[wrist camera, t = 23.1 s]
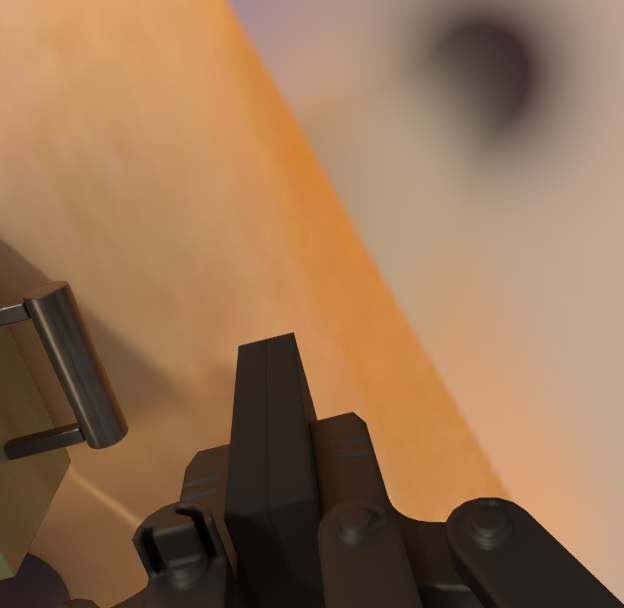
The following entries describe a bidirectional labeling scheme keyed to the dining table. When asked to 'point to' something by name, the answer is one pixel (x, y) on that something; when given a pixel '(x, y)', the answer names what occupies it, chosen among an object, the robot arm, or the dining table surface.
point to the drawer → (46, 414)
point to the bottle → (33, 586)
